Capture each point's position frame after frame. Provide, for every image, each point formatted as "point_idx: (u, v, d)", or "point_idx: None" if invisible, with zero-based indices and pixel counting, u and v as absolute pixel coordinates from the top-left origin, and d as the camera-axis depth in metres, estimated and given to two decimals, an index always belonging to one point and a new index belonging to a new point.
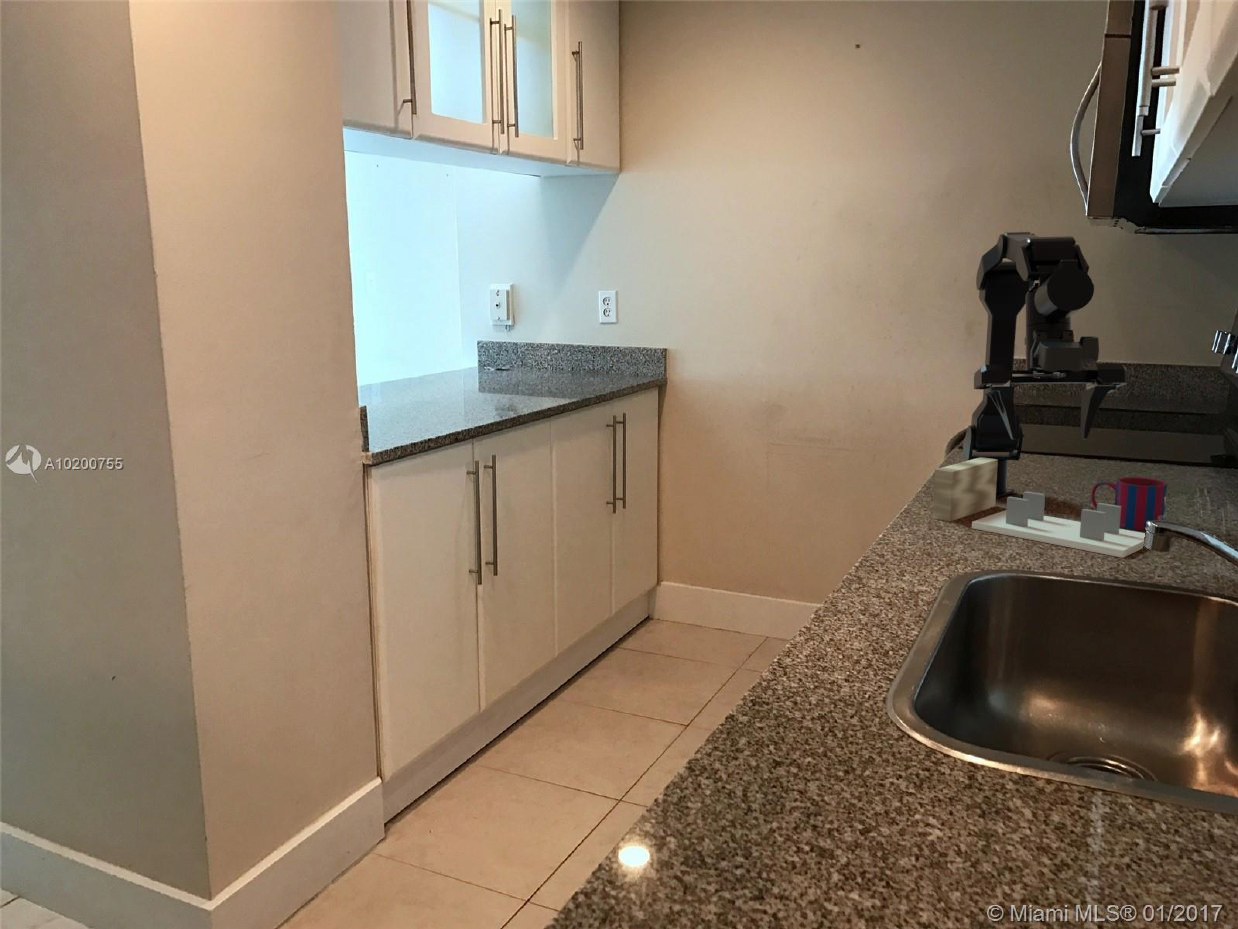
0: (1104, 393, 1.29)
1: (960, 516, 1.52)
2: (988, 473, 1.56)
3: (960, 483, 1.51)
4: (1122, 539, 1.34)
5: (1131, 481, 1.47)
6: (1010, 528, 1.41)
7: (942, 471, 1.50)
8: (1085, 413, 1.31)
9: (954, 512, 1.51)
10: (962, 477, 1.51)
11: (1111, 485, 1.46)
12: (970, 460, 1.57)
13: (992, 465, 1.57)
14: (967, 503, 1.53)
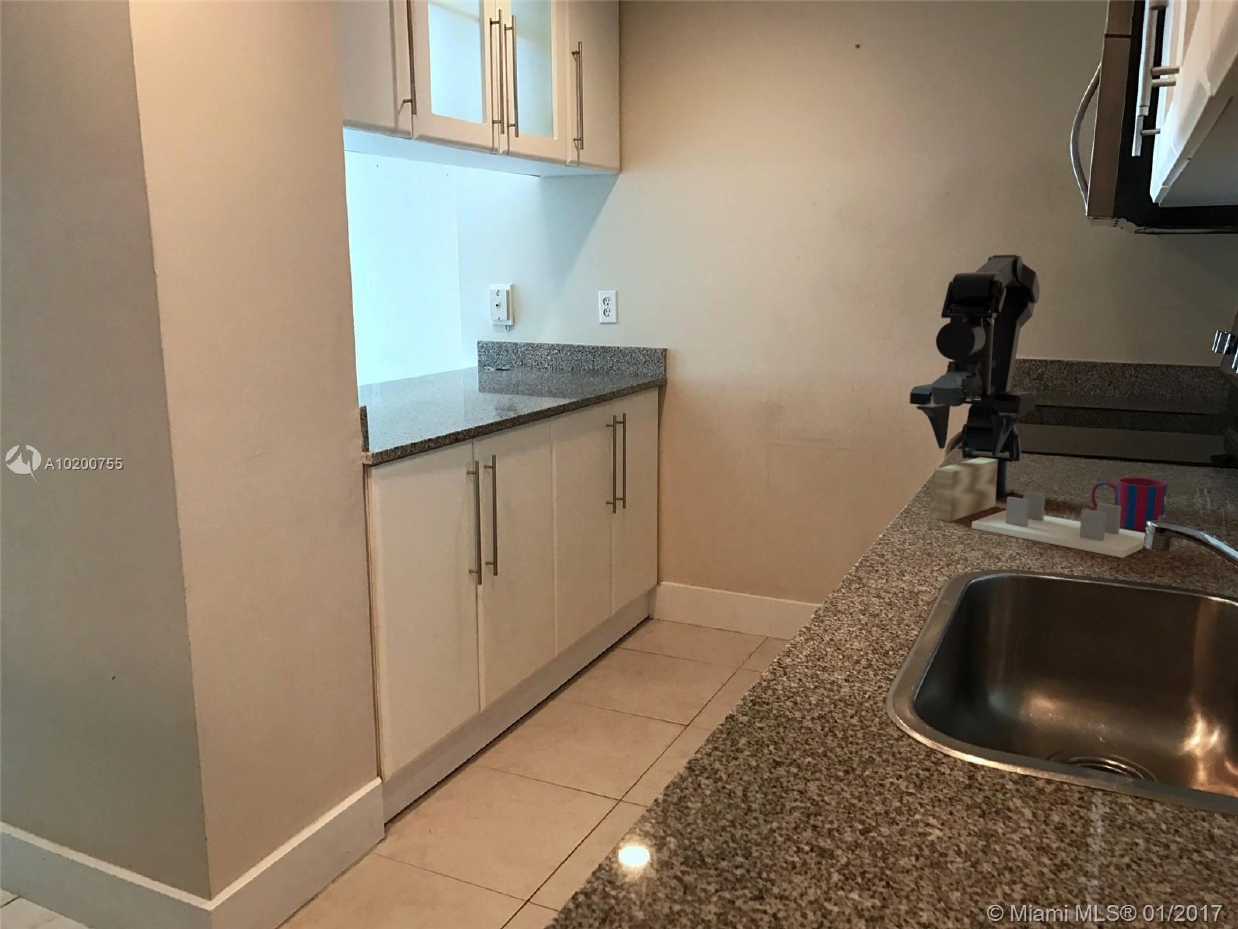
0: (1001, 420, 1.46)
1: (960, 516, 1.52)
2: (988, 473, 1.56)
3: (960, 483, 1.51)
4: (1122, 539, 1.34)
5: (1131, 481, 1.47)
6: (1010, 528, 1.41)
7: (942, 471, 1.50)
8: None
9: (954, 512, 1.51)
10: (962, 477, 1.51)
11: (1111, 485, 1.46)
12: (970, 460, 1.57)
13: (992, 465, 1.57)
14: (967, 503, 1.53)
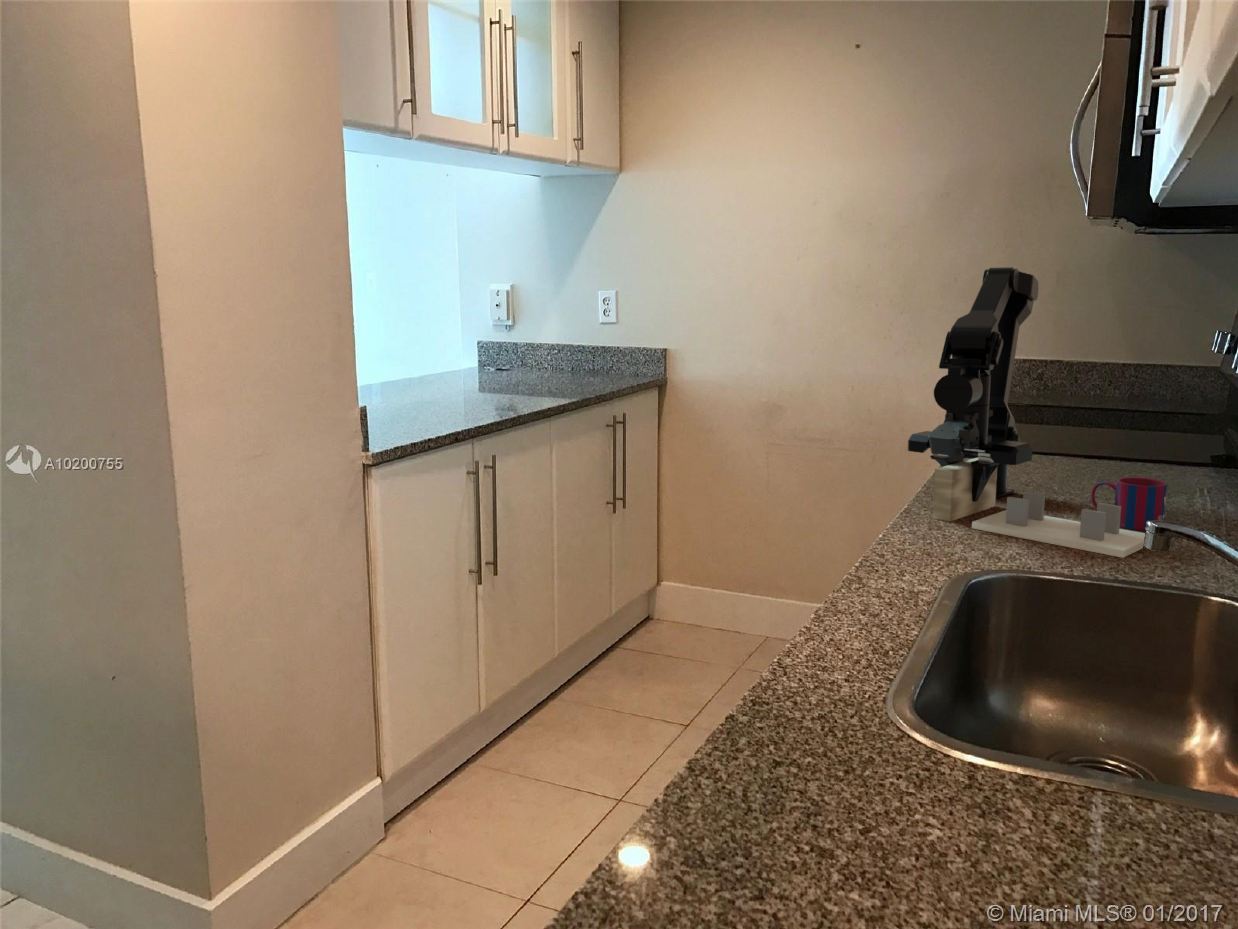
0: (980, 467, 1.50)
1: (960, 515, 1.52)
2: None
3: (960, 482, 1.50)
4: (1122, 539, 1.34)
5: (1131, 481, 1.47)
6: (1010, 528, 1.41)
7: (942, 470, 1.50)
8: None
9: (954, 511, 1.50)
10: (962, 476, 1.51)
11: (1111, 485, 1.46)
12: (970, 459, 1.57)
13: None
14: (967, 502, 1.53)
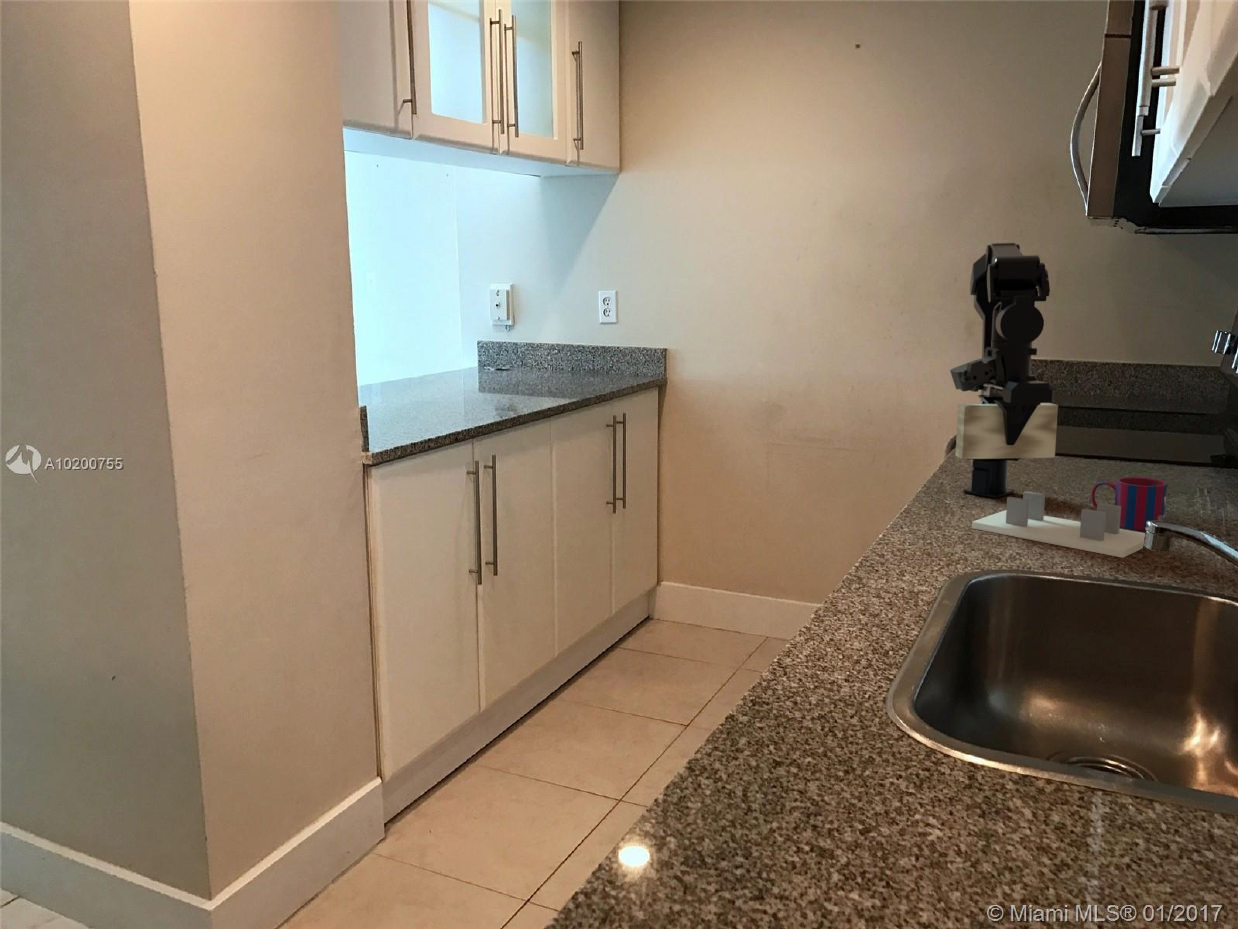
0: (1002, 407, 1.42)
1: (982, 456, 1.46)
2: (1039, 418, 1.45)
3: (980, 421, 1.45)
4: (1122, 539, 1.34)
5: (1131, 481, 1.47)
6: (1010, 528, 1.41)
7: (961, 406, 1.46)
8: None
9: (970, 450, 1.46)
10: (984, 415, 1.45)
11: (1111, 485, 1.46)
12: None
13: (1046, 410, 1.44)
14: (995, 444, 1.45)
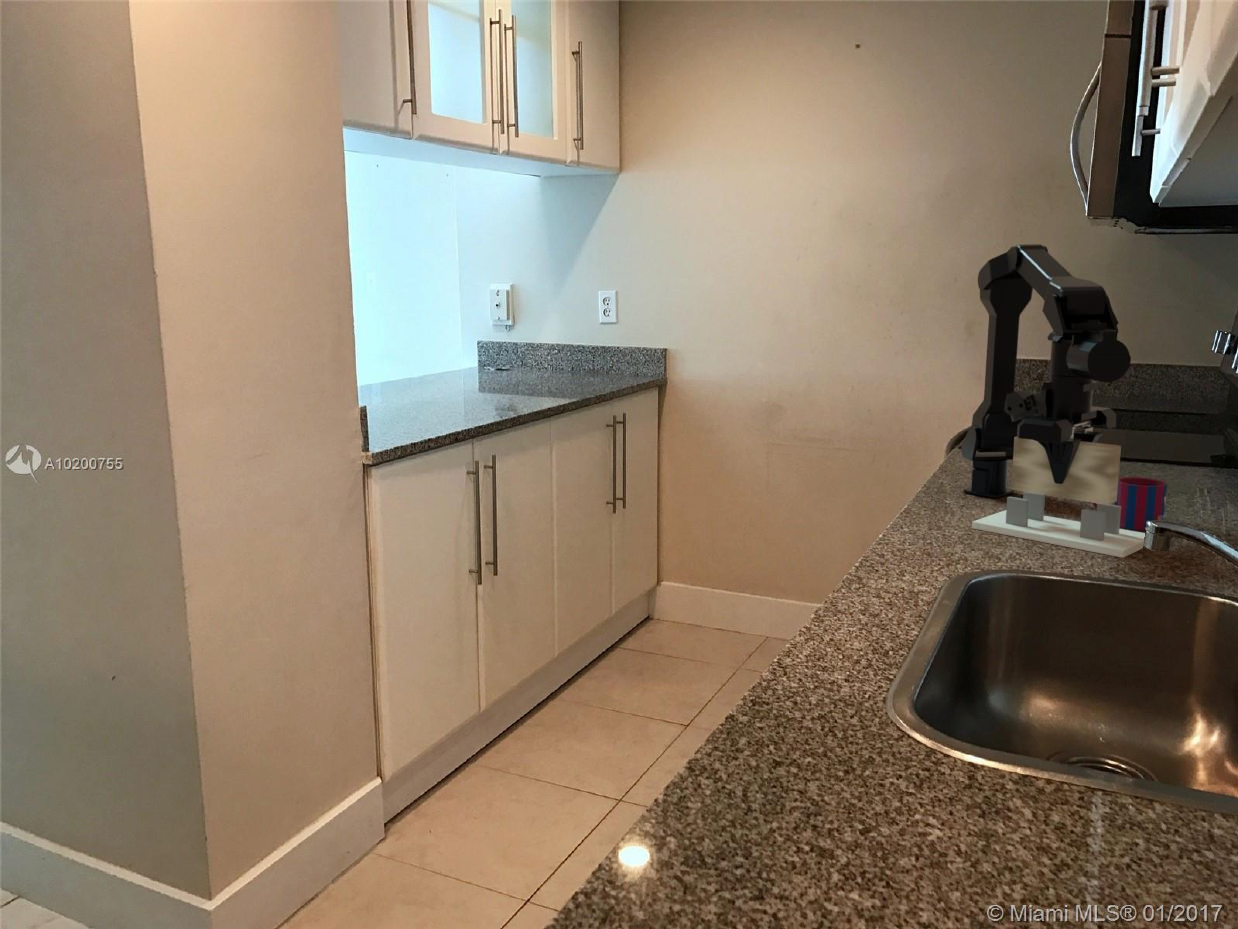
0: None
1: (1031, 490, 1.42)
2: (1090, 459, 1.35)
3: (1030, 453, 1.41)
4: (1122, 539, 1.34)
5: (1131, 481, 1.47)
6: (1010, 528, 1.41)
7: None
8: None
9: (1019, 481, 1.43)
10: (1034, 448, 1.41)
11: None
12: None
13: (1099, 452, 1.34)
14: (1044, 480, 1.40)
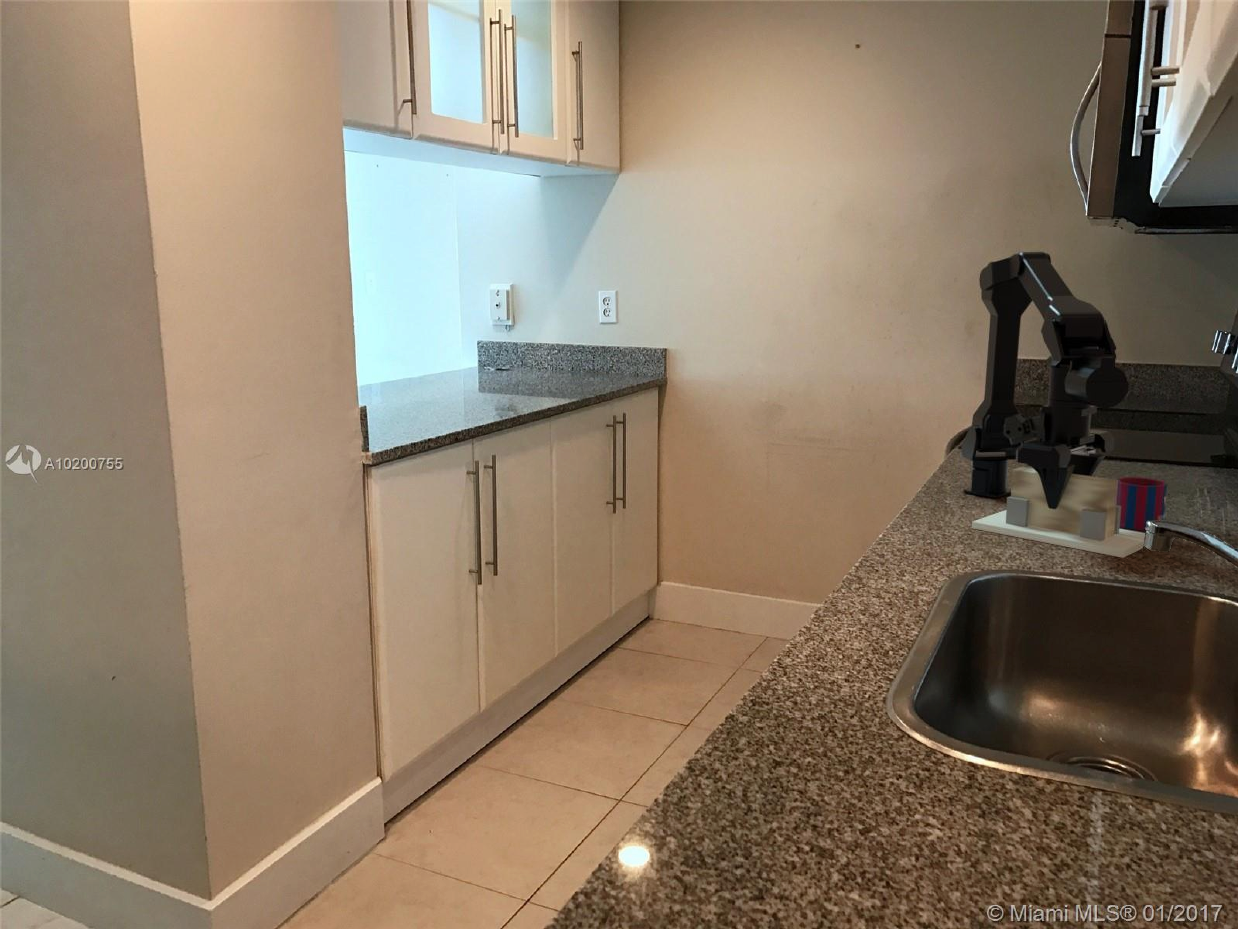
0: (1033, 467, 1.38)
1: (1029, 522, 1.43)
2: (1088, 493, 1.36)
3: (1027, 486, 1.42)
4: (1122, 539, 1.34)
5: (1131, 481, 1.47)
6: (1010, 528, 1.41)
7: None
8: None
9: None
10: (1031, 481, 1.42)
11: None
12: (1090, 476, 1.38)
13: (1096, 487, 1.35)
14: (1042, 513, 1.41)
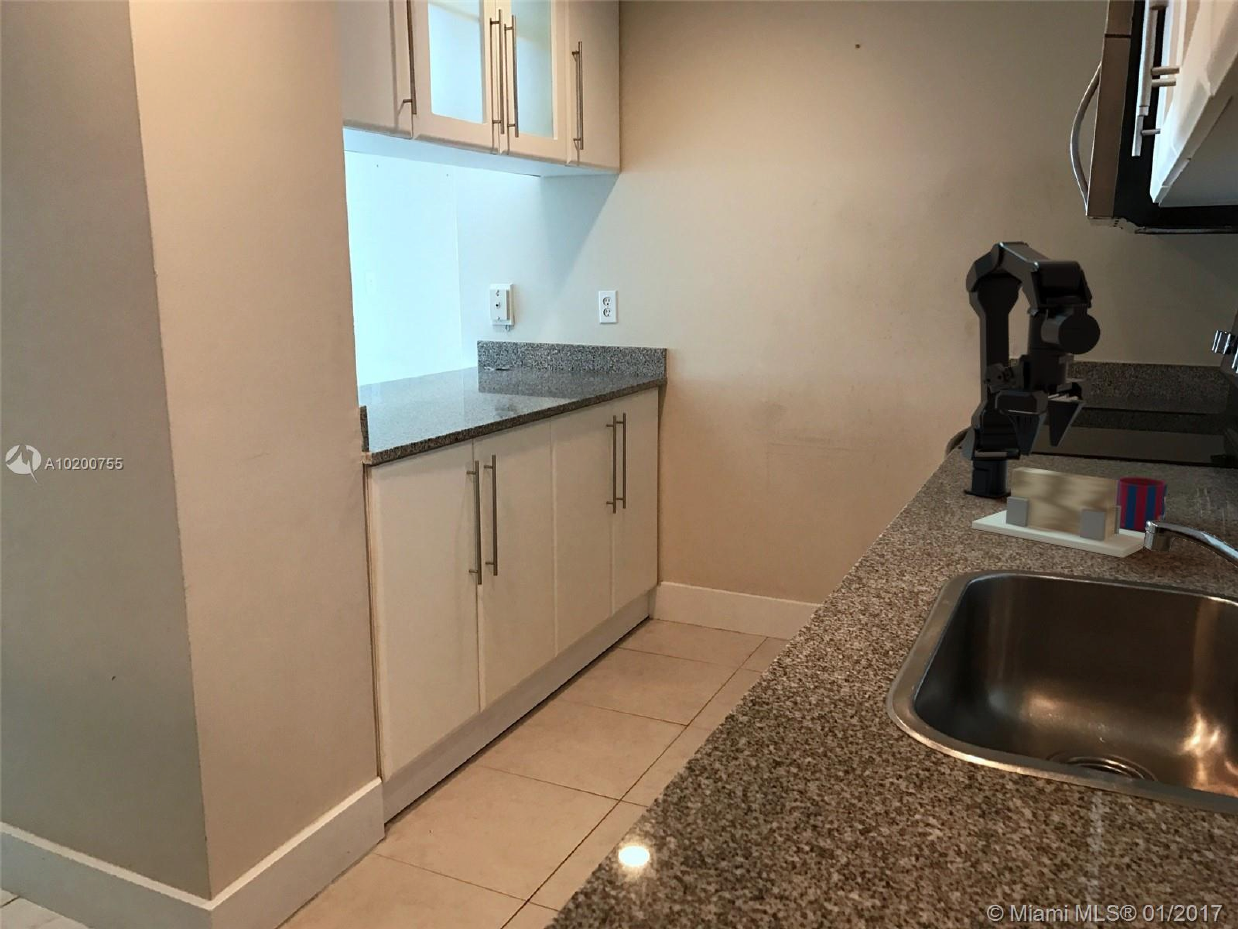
0: (1007, 415, 1.41)
1: (1029, 522, 1.43)
2: (1088, 493, 1.36)
3: (1027, 486, 1.42)
4: (1122, 539, 1.34)
5: (1131, 481, 1.47)
6: (1010, 528, 1.41)
7: None
8: None
9: None
10: (1031, 481, 1.42)
11: None
12: (1090, 476, 1.38)
13: (1096, 487, 1.35)
14: (1042, 513, 1.41)
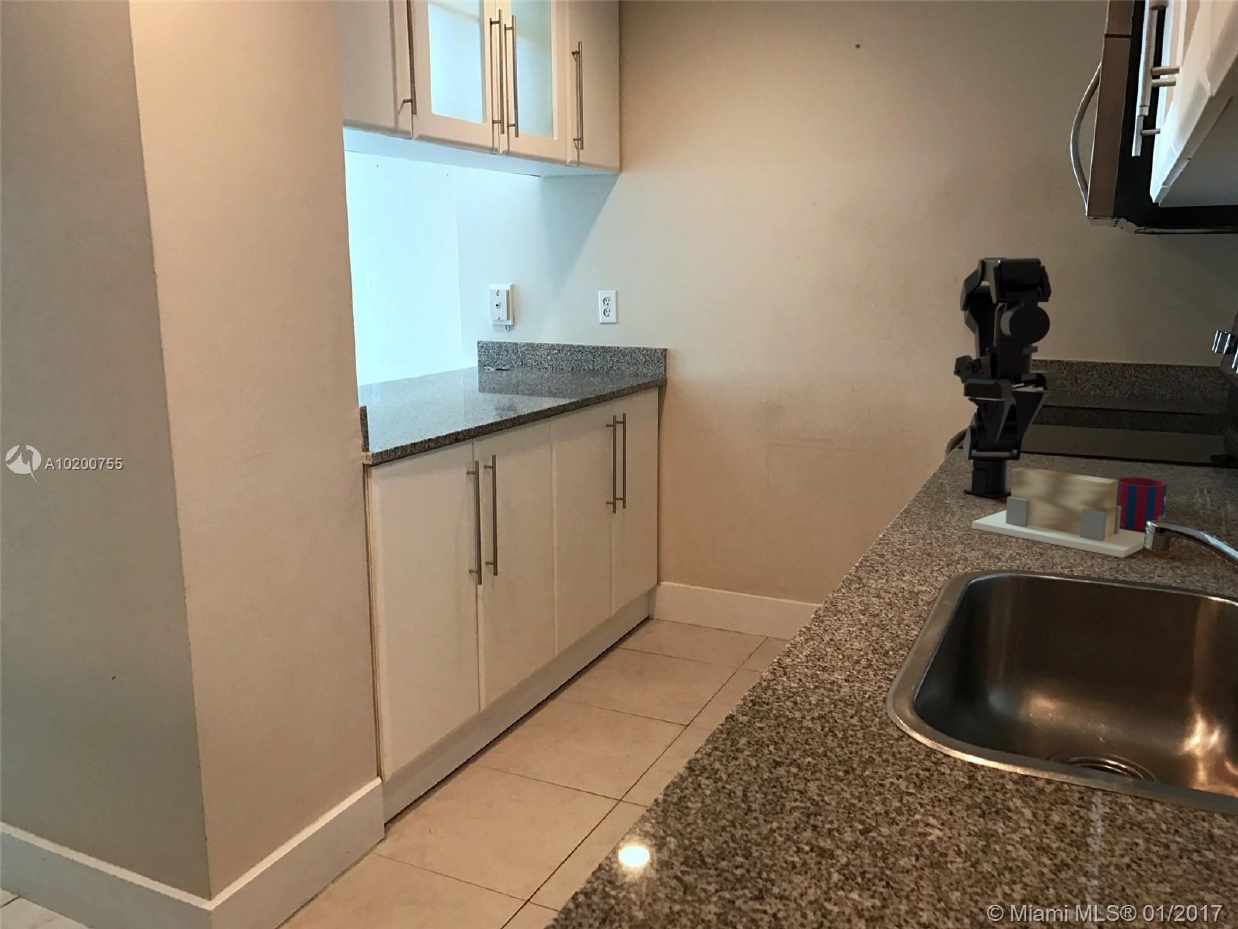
0: (975, 402, 1.50)
1: (1029, 522, 1.43)
2: (1088, 493, 1.36)
3: (1027, 486, 1.42)
4: (1122, 539, 1.34)
5: (1131, 481, 1.47)
6: (1010, 528, 1.41)
7: None
8: None
9: None
10: (1031, 481, 1.42)
11: None
12: (1090, 476, 1.38)
13: (1096, 487, 1.35)
14: (1042, 513, 1.41)
